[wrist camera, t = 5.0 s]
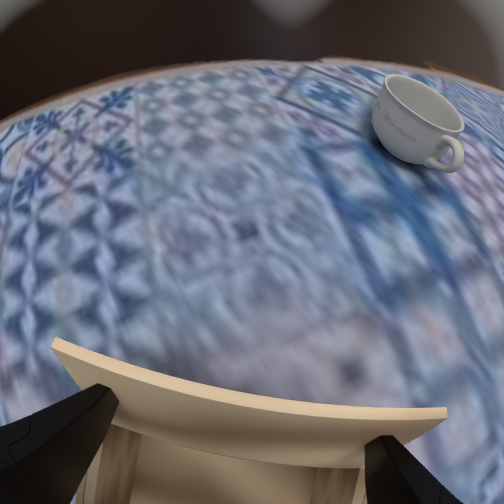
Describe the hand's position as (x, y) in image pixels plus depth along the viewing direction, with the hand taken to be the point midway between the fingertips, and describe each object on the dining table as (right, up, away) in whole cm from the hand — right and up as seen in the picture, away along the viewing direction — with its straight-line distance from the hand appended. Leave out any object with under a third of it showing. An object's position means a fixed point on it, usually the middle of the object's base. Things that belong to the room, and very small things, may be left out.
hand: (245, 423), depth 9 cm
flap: (0, -1, 0) cm, 1 cm away
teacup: (+19, +18, +25) cm, 36 cm away
